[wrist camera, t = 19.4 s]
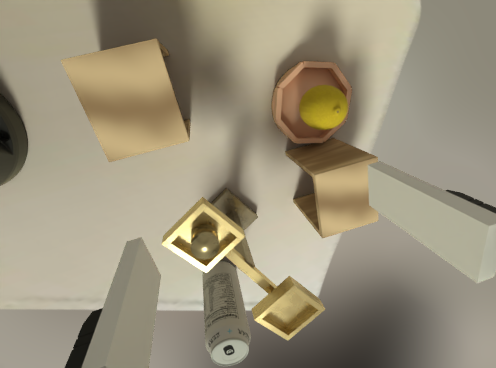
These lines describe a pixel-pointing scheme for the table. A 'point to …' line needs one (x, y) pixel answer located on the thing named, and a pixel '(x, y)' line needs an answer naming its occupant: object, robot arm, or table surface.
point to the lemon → (323, 107)
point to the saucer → (294, 89)
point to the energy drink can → (225, 315)
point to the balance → (240, 260)
